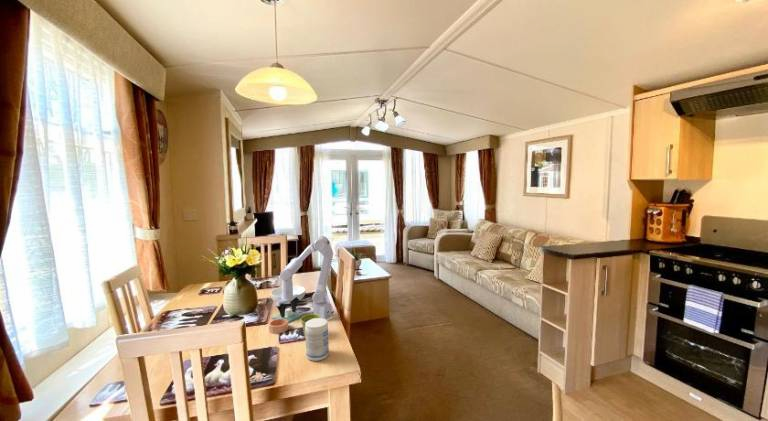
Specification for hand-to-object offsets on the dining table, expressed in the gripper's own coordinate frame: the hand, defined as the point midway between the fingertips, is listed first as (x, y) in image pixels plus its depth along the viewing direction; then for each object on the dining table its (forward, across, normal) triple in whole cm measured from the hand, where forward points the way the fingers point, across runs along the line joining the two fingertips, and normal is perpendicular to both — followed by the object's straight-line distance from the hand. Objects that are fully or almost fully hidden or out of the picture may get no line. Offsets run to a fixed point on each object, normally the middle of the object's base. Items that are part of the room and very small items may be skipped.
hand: (288, 314), depth 175 cm
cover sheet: (+1, 0, 0) cm, 1 cm away
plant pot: (+2, +9, +25) cm, 27 cm away
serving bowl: (+2, -17, -18) cm, 25 cm away
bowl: (+2, +13, +7) cm, 15 cm away
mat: (+2, 0, 0) cm, 2 cm away
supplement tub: (+2, +21, +40) cm, 45 cm away
